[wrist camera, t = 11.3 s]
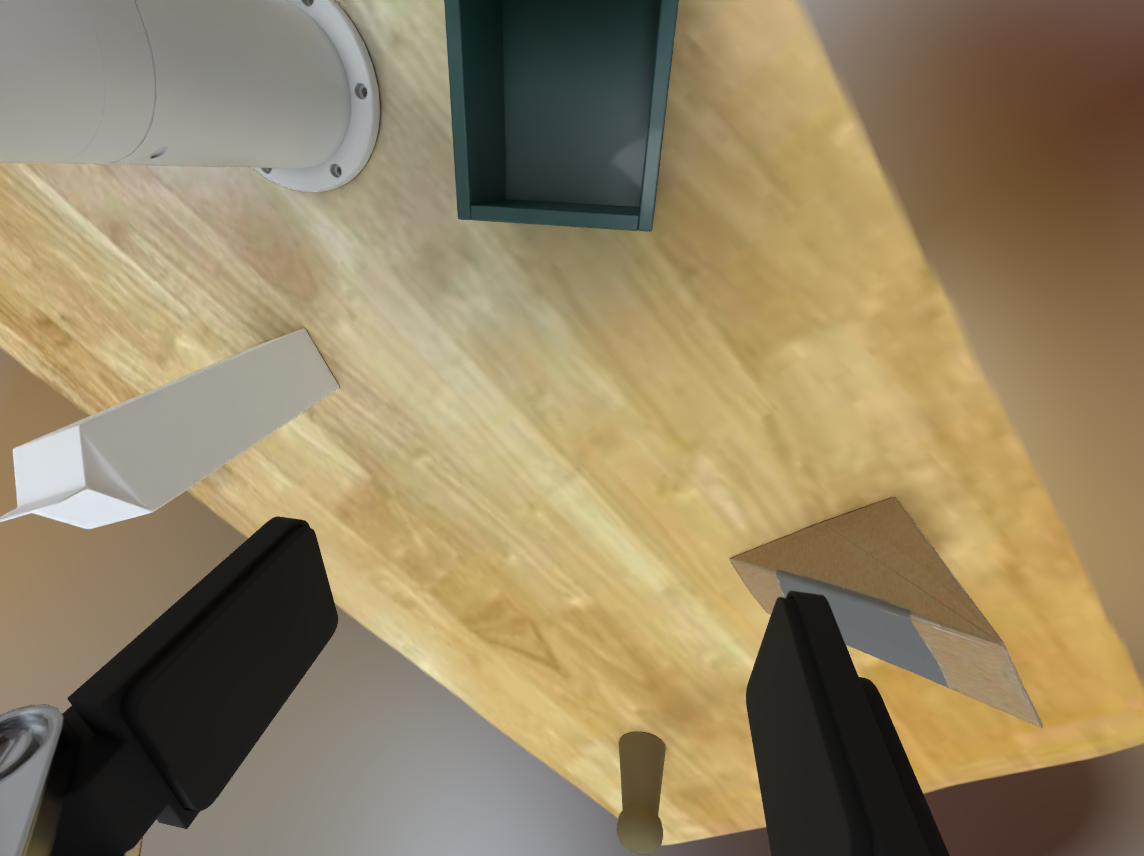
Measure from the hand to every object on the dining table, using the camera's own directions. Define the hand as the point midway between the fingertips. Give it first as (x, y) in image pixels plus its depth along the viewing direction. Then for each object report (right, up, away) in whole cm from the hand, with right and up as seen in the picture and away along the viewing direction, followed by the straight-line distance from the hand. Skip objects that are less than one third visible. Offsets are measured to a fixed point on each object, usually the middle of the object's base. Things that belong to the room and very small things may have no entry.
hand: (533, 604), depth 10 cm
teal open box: (+1, +25, +21) cm, 33 cm away
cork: (+10, -38, +53) cm, 66 cm away
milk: (-24, +9, +34) cm, 43 cm away
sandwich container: (+24, -9, +35) cm, 44 cm away
